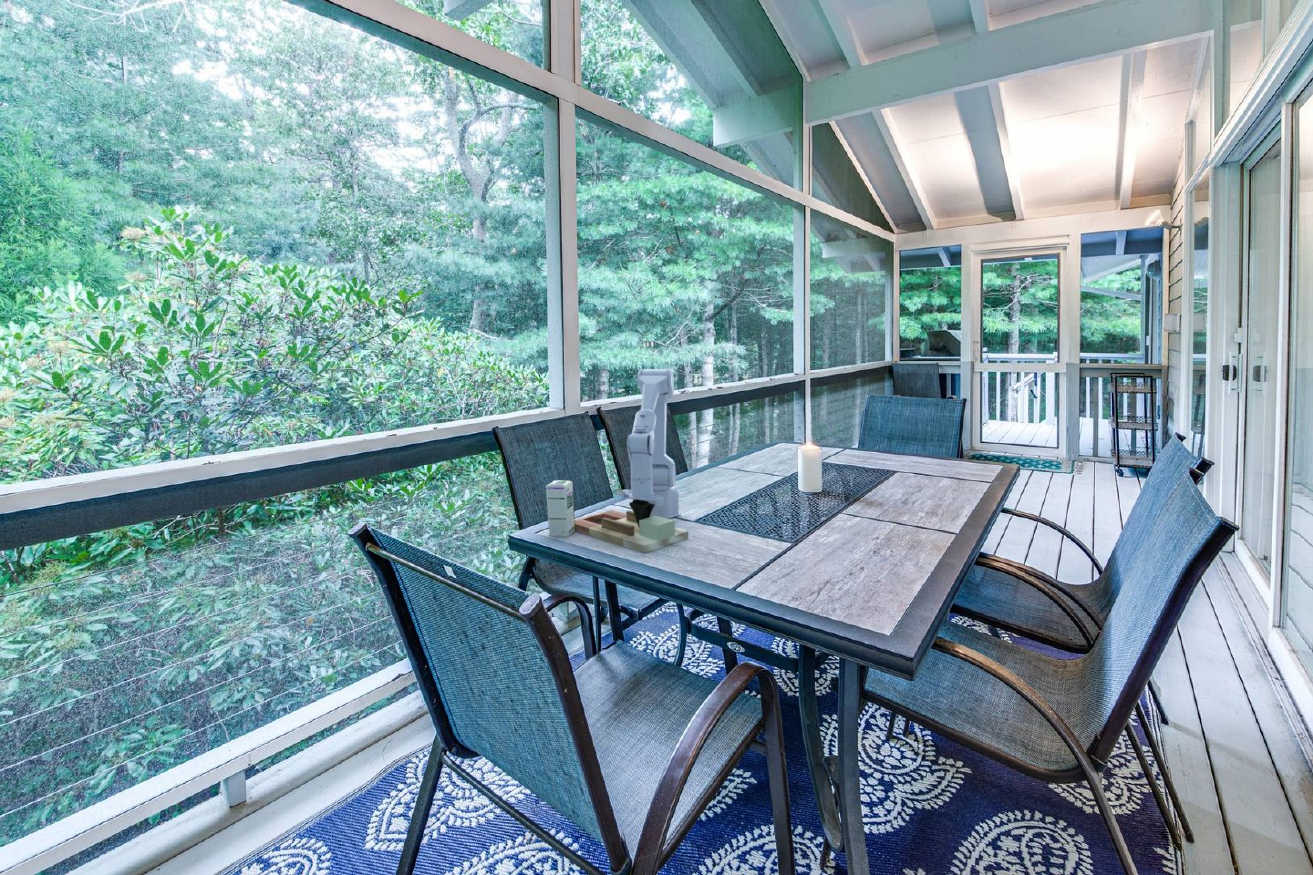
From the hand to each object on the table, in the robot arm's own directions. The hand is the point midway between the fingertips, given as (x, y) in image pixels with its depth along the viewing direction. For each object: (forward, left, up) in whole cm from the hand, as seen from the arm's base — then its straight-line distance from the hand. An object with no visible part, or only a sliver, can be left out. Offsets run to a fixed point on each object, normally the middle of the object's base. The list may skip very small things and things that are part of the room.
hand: (642, 527), depth 167 cm
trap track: (0, -6, -3) cm, 7 cm away
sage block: (0, +5, -1) cm, 5 cm away
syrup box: (+12, -20, -3) cm, 24 cm away
